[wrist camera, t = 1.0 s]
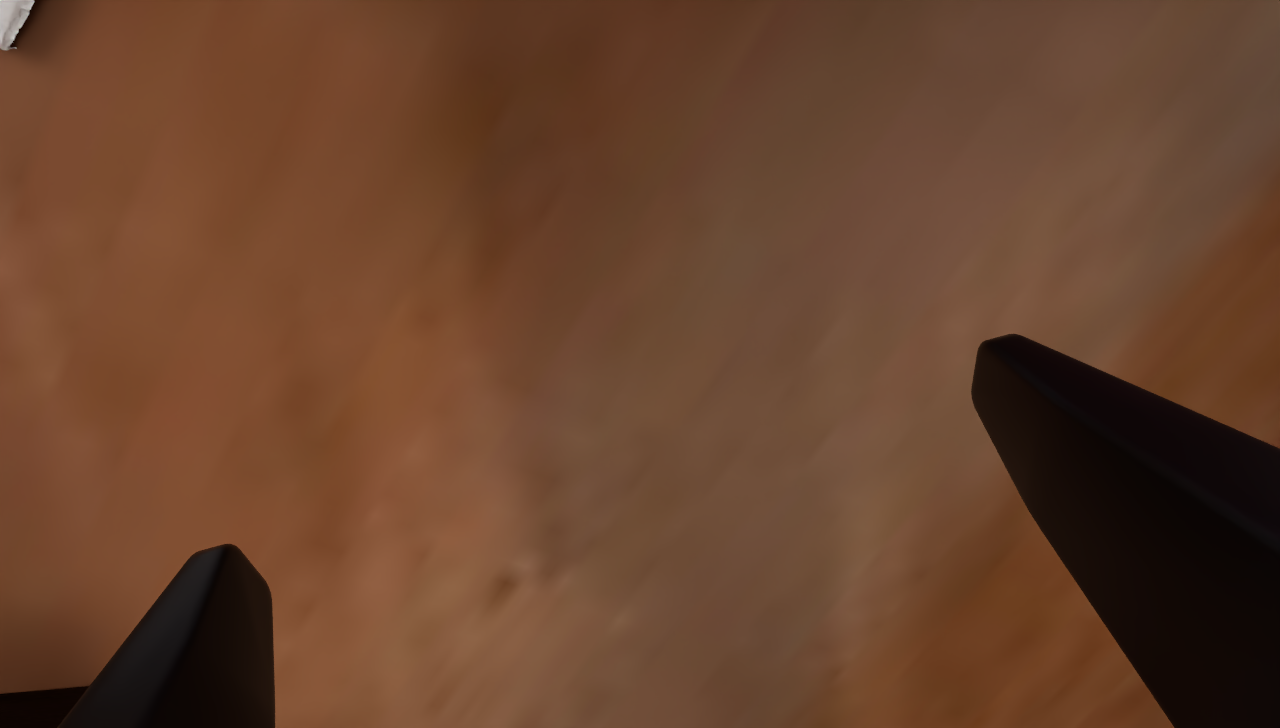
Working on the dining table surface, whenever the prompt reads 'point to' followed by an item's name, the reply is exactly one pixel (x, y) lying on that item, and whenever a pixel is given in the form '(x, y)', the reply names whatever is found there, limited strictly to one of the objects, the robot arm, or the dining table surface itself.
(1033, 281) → the dining table surface
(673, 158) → the dining table surface
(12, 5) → the terrain model
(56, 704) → the book rack
